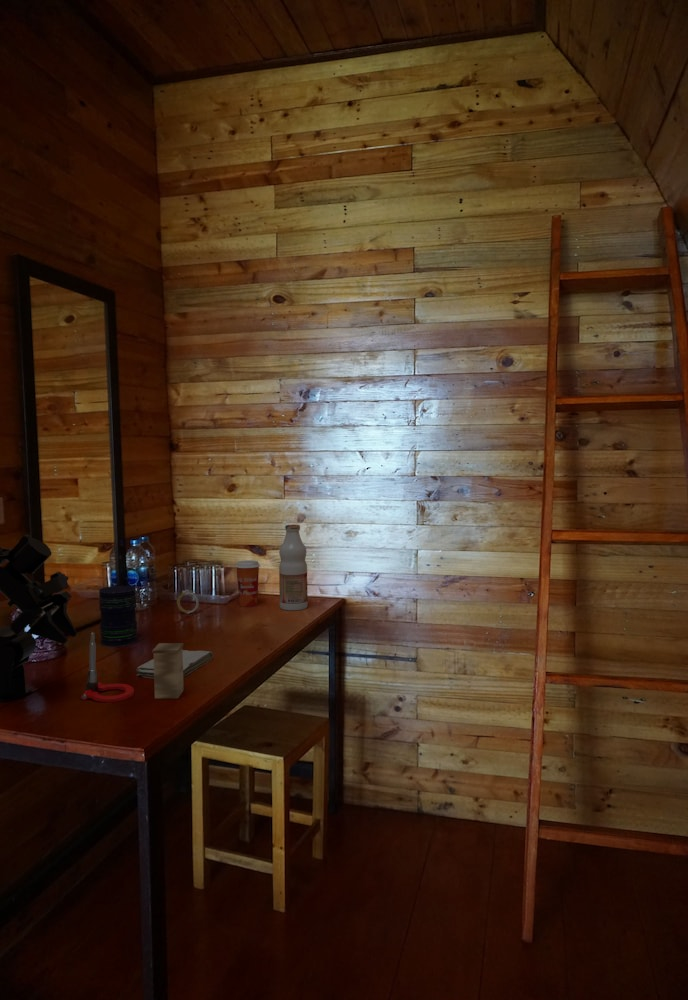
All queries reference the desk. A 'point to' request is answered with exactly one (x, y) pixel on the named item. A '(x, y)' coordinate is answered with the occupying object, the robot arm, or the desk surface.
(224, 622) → the desk surface
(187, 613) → the ring
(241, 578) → the coffee cup
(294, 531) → the fruit juice
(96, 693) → the tow hook
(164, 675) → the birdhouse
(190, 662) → the washcloth
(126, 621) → the storage jar
